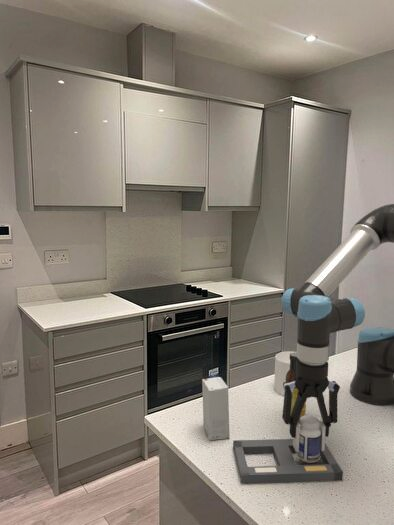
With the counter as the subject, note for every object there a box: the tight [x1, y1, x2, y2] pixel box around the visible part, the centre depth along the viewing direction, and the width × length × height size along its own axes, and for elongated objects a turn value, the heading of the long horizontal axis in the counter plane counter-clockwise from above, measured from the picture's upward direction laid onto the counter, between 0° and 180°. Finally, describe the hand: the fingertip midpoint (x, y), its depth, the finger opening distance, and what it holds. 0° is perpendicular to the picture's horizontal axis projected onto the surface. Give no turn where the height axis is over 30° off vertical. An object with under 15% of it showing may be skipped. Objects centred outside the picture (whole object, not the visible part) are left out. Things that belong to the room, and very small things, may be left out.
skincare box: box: [201, 376, 230, 441], centre depth 115 cm, size 8×6×15 cm
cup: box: [273, 351, 295, 397], centre depth 141 cm, size 12×12×12 cm
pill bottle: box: [296, 414, 321, 464], centre depth 101 cm, size 6×6×10 cm
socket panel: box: [232, 438, 344, 485], centre depth 101 cm, size 24×14×2 cm, turn 93°
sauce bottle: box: [286, 351, 307, 422], centre depth 122 cm, size 7×6×20 cm
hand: (308, 447), depth 101 cm, fingers closed on pill bottle, 6 cm apart
